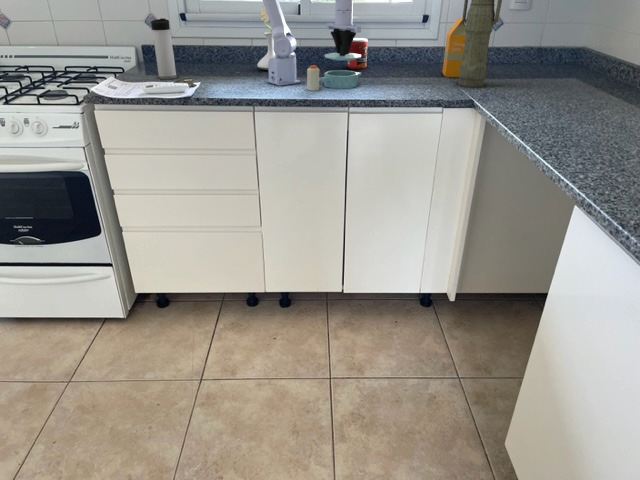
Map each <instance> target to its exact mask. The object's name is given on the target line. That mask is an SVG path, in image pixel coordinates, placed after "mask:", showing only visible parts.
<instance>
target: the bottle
mask: <svg viewBox="0 0 640 480" xmlns="http://www.w3.org/2000/svg"><path fill="white" fill-rule="evenodd" d="M306 82H307V83H306V87H307V88H306V90H307V91H311V92H313V91H314V92H316V91H320V68H318V67H317V65H315V64H314V65H309V67H308V68H307V69H306Z"/></svg>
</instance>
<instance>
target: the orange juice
mask: <svg viewBox="0 0 640 480" xmlns="http://www.w3.org/2000/svg"><path fill="white" fill-rule="evenodd" d="M462 21H463V17H458V18H457V19H456V21H455V22H454V23H453V24H452V26H451V27H450V28H449V30H447V32H446V39H445V47H444V55H443V65H442V74H443V76H444V77H445V78H459V69H460V65H461V63H462V59H463V52H464V44H465V37H466V32H465V26H466V24H465V22H462Z"/></svg>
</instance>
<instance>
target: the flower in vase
mask: <svg viewBox="0 0 640 480" xmlns="http://www.w3.org/2000/svg"><path fill="white" fill-rule="evenodd" d="M260 21H261V22H263V23H264V25H265V26H266V27H267V28H269V29H270V31H265V32H263V35H264V36H265V39H266V41H267V42H266V43H267V53H266V54H265V55H264V56H263V57H262V58H261V59H260V60H259V61H258V63H257V67H258V69H261V70H265V71H269V70H268V63H269V60H270V59H271V58H274V57H275V54H276V52H275V51H274V39H273V36H272V33H273V30H272V27H271V25H269V24H268V22H269V18H268V15H267V12H266V9H265V6H264V5H262V8H261V11H260Z"/></svg>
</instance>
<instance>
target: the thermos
mask: <svg viewBox="0 0 640 480" xmlns="http://www.w3.org/2000/svg"><path fill="white" fill-rule="evenodd" d="M495 1H496V0H470V5H469V0H464V5H463V11H462V19H463V21H462V22H464V24H465V25H466V26H465V32H466V37H465V44H464V52H463V59H462V63H461V65H460V69H459V77H458V82H457V85H458V86H459V87H463V88H473V89H474V88H482V87H484V83H485V79H486V75H487V57H488V51H489V46H490V38H491V34H492V32H493V31H494V25H496V24H497V23H498V22H499V19H500V13H501V8H502V3H503V0H497V3H496V8H495ZM468 5H469V8H468ZM495 9H496V10H495Z"/></svg>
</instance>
